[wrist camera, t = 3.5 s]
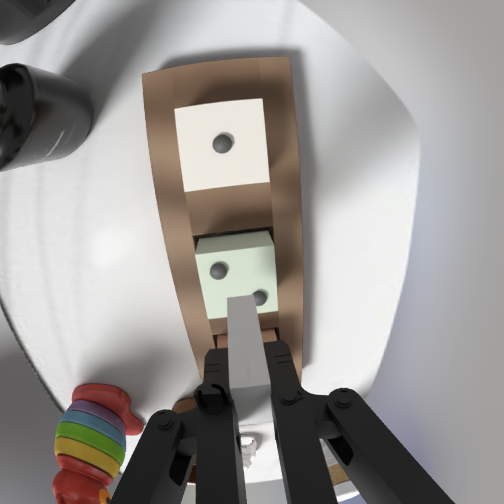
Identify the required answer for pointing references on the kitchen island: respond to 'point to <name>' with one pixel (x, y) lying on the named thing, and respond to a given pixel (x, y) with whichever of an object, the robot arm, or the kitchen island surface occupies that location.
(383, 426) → the robot arm
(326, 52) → the kitchen island surface
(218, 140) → the one-pip button
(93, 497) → the stacking bear
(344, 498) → the sprinkles bottle
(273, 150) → the button board
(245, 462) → the crumpled white paper
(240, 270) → the two-pip button
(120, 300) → the kitchen island surface
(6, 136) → the supplement bottle
